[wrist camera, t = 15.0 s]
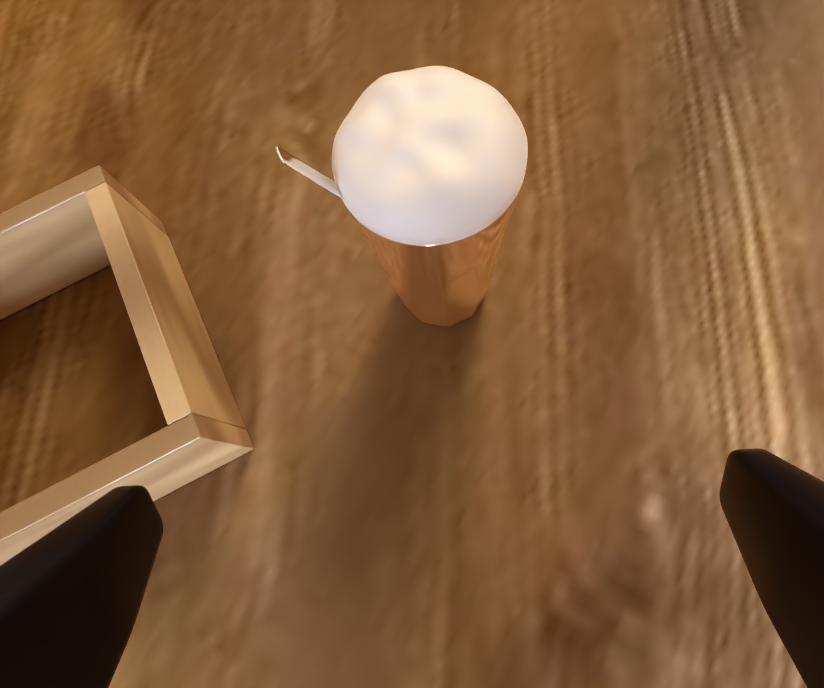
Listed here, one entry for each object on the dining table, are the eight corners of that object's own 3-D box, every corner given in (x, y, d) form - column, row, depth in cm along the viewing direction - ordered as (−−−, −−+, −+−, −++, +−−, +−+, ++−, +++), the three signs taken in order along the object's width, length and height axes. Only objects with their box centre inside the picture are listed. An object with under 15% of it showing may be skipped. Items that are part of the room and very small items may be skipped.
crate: (254, 448, 19) (200, 436, 15) (-16, 590, 18) (-143, 615, 14) (162, 221, 22) (98, 163, 18) (-71, 337, 21) (-188, 303, 18)
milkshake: (347, 269, 20) (243, 68, 11) (472, 215, 21) (477, -29, 11) (390, 372, 19) (315, 248, 9) (524, 314, 19) (582, 133, 10)
